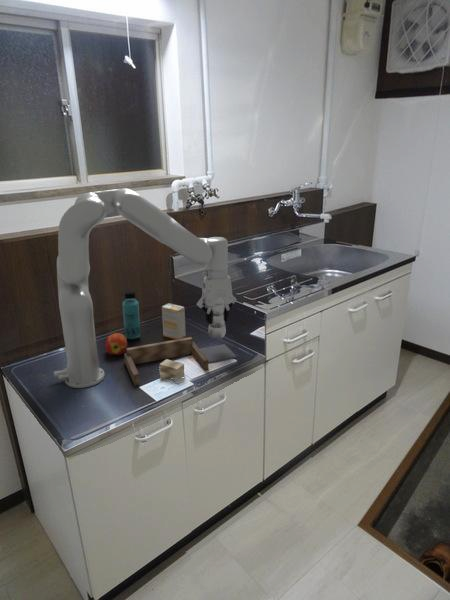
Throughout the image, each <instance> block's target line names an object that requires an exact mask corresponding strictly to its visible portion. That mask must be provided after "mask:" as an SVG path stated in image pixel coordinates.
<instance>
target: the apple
mask: <svg viewBox="0 0 450 600" xmlns="http://www.w3.org/2000/svg"><path fill="white" fill-rule="evenodd" d="M124 335H125V334H123V333H119V332H114V333H112V334H111V333H110V335H108V336H107V338H106V339H105V344H104V347H105V348H104V349H105V350H106V352H107V353H108V354H109V355H112V356H120V355H122V354H125V352H126V348H128V341H127V340H128V338H126V337H125V336H124Z"/></svg>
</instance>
